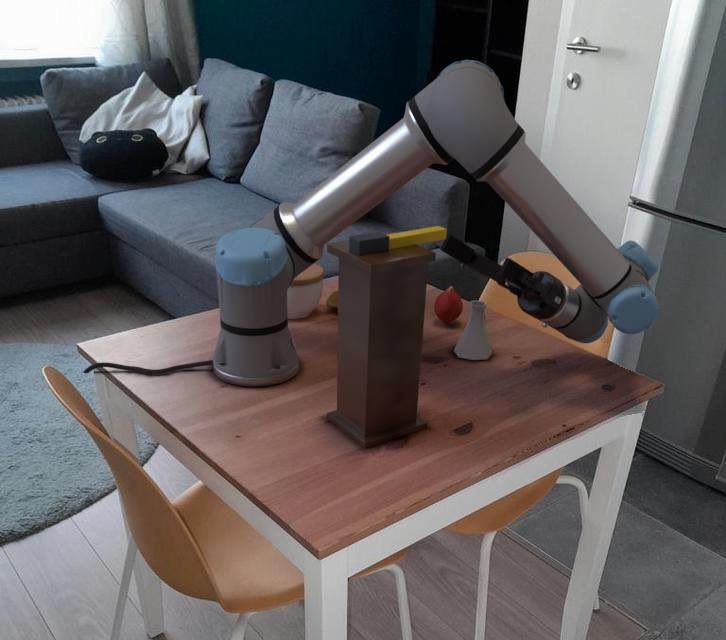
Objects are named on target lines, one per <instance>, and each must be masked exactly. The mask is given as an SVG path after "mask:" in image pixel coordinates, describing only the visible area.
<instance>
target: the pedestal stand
mask: <svg viewBox="0 0 726 640" xmlns="http://www.w3.org/2000/svg"><path fill="white" fill-rule="evenodd" d="M384 234H385V235H387V234H392V233H391V232H387V233H384ZM326 252H327V253H329V254H331V255H333V256H335V257H337V258H338V282H337V285H338V287H337V288H338V289H337V290H338V309H337V358H336V359H337V360H336V361H337V365H336V366H337V367H336V369H337V370H336V373H337V374H336V410H333V411H330V412H327V413H325V414H326V415H325V418H326V420H328V422H330V423H331V424H333V425H334V426H335V427H336V428H338V429H339V430H340V431H342V432H343V433H345V434H346V435H347V436H349V437H350V439H353V440H354V441H355V442H356V443H358V444H359V445H360V446H361V447H363V448H364V449H367V448H370V447H374V446H376V445H379V444H382V443H385V442H388V441H391V440H395V439H398V438H400V437H401V438H402V437H404V436H406V435H411V434H413V433H416V432H418V431H422V430H425V429H428V421H426V420H424V419H423V418H421V417H419V416H418V405H419V391H420V381H421V379H420V378H421V365H422V364H421V363H422V351H423V341H424V340H423V339H424V324H425V310H426V301H427V300H426V299H427V287H428V286H427V285H428V272H429V263H434V262H436V258H437V257H436V256H437V253H436V252H435V251H433V250H430V249H428V248H425V247H423V246H421V245H420V244H417V245H412V246H406V247H400V248H395V249H389V250H388V251H382V252H377V253H371V254H366V255H360V256H359V255H357V254H355V253H353V252H351V251H349V239H347V240H340V241H335V242H327V243H326Z"/></svg>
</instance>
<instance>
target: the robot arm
mask: <svg viewBox="0 0 726 640" xmlns="http://www.w3.org/2000/svg"><path fill="white" fill-rule="evenodd" d="M526 133H527V132H526V131H525V130H524V128H522V126H521V125H520V124H519V122H518V121H517V120H516V119H515V117H514V116H513V113H511V111H510V109H509V108H508V106H507V103H506V101H505V92H504V87H503V85H502V84H501V80H500V79H499V77H498V76H497V75H496V73H495V71H494V70H493V69H492V68H491V67H490V66H488V65H487V64H485V63H482V62H481V61H478V60H472V59H463V60H459V61H455V62H453V63H450V64H449V65H448V66H446V67H445V68H444V69H443V70H442V71H441V72H440V73H439V74H438V76H436V78H435V79H434V80H433V81H431V82H430V83H429V84H428V85H427V86H425V87H424V88H423V89H421V91H419V92H418V93H417V94H416V95H414V96H413V97H412V98H411V99H409V100H408V101H407V102H406V105H405V111H404V115H403V118H401V119H400V120H399V121H398V122H397V123H395V124H393V126H391V127H390V128H389V129H387V130H386V131H385V132H383V133H382V134H381V135H380V136H378V137H377V138H376V139H375V140H374V141H373V142H371V143H370V144H369V145H367V146H366V147H365V148H364V149H362V150H361V151H360V152H359V153H357V154H356V155H355V156H353V157H352V158H351V159H349V161H346V163H345V164H343V165H342V166H340V167H339V169H337V170H336V171H335V172H334V173H332V174H331V175H330V176H328V177H327V178H326V179H324V180H323V181H322V182H321V183H320V184H318V185H317V186H316V187H314V188H313V189H312V190H310V191H309V192H308V193H307V194H306V195H304V196H303V197H302V198H300V200H298V201H297V202H296V203H291V202H286V201H283V202H281V203H280V204H279V205H278V206H276V207H274V208H273V210H271V211H270V212H269V213H267V214H266V215H264V216H262V217H259V218H258V219H256V220H254V222H252V224H251V225H250V226H249V227H243V228H238V229H236V230H235V231H229V232H227V233H226V234H224V235H223V236H222V237H220V238H219V239H218V241H217V243H216V246H215V256H214V267H215V271H216V283H217V284H216V285H217V298H218V310H219V322H220V330H219V334H218V338H217V342H216V346H215V350H214V353H213V357H212V359H211V360H203V361H195V362H189V363H184V364H177V365H172V366H169V367H164V368H159V369H158V368H157V369H151V368H144V367H140V366H134V365H126V364H125V365H124V364H120V363H113V362H104V361H102V362H96V363H93V364H91V365H89V366H88V367H86V368H85V369H84V371H82V373H83V374H89V373H91V372H92V371H94V370H96V369H99V368H109V369H110V368H112V369H117V370H122V371H129V372H138V373H141V374H146V375H162V374H167V373H172V372H176V371H181V370H186V369H191V368H200V367H206V366H212V369H213V373H214V375H215V376H216V377H217V378H219V380H221V381H224V382H225V383H228V384H231V385H236V386H240V387H251V388H252V387H253V388H254V387H255V388H257V387H268V386H274V385H278V384H280V383H284V382H287V381H288V380H290V379H292V378H293V377H295V376H296V375H297V374H298V373H299V369H300V358H299V353H298V351H297V348H296V342H295V340H294V337H293V336H292V335H291V332H290V329H289V321H288V311H287V290H288V288H289V286H290V285H291V283H292V281H293V279H294V278H295V277H297V276H298V275H299V274H300V273H302V272H303V271H304V270H306V269H307V268H308V267H310V266H311V265H312V264H314V263H315V264H316V262H318V261H319V260H321V259H322V258H323V255H324V248H325V245H327V244H328V243H330V241H332V240H333V239H335V238H336V237H337V236H338V235H340V234H341V233H342V232H343V231H345V230H346V229H348V228H349V227H350V226H351V225H353V224H354V223H355V222H357V221H358V220H359V219H361V218H362V217H363V216H364V215H366V214H367V213H368V212H370V211H372V210H373V209H374V208H375V207H376V206H378V205H379V204H381V203H382V202H384V201H385V200H386V199H387V198H389V197H390V196H391V195H393V194H394V193H396V192H397V191H398V190H399V189H401V188H402V187H404V185H406V184H407V183H409V182H411V180H413V179H414V178H416V177H417V176H418V175H420V174H421V173H422V172H423V171H424V170H426V169H427V168H429V167H430V166H431V165H433V164H439V165H448V164H449V163H451V162H452V161H454V160H456V161H457V162H458V163H459V164H460V166H462V167H463V168H464V170H465V171H467V173H469V174H470V175H471V176H472V178H473V179H474V180H475V181H476V182H485V183H488V184H489V186H491V188H492V189H493V190H494V191H495V192H496V193H497V194H498V196H500V198H501V199H502V200H503V201H504V202H505V203H506V204H507V205H508V206H509V207H510V209H511V210H512V211H513V212H514V213H515V214H516V215H517V217H519V218H520V219H521V221H522V222H523V223H524V224H525V225H526V226H527V227H528V228H529V229H530V230H531V232H532V233H533V234H534V235H535V236H536V237H537V238H538V239H539V240H540V241H541V242H542V244H543V245H545V247H546V248H547V249H548V250H549V251H550V253H552V254H553V256H554V257H555V258H556V259H557V260H558V261H559V262H560V263H561V264H562V265H563V267H565V269H566V270H567V271H568V272H569V273H570V274H571V275H572V276H573V277H574V278H575V280H577V282H578V283H579V285H578V286H577V287H576V288H575V289H574V288H573V287H572V286H570V285H569V284H567V283H566V282H565V281H563V280H561V279H559V278H557V277H556V276H555V275H554V274H552V273H550V272H549V271H545V270H539V271H535V272H532V271H531V270H529V269H527V268H526V267H524V266H523V265H521V264H520V263H518V262H516V261H515V260H513V259H511V258H510V257H506V258H505V259H504V261H503V263H502V264H500V263H498V262H496V261H494V260H493V259H490V258H488V257H486V256H484V255H482V254H481V253H479V252H476V249H474V248H472V247H470V246H469V245H468V244H466V243H464V242H463V241H461V240H460V239H458V238H456V237H455V236H453V235H452V234H449V233H447V234H446V239H445V240H443V242H442V244H441V246H440V248H439V251H441V252H443V253H444V254H446V255H448V256H449V257H451V258H453V259H455V260H456V261H457V263H458V264H459V267H460V268H462V269H464V268H465V266H466V267H468V268H470V269H472V270H474V271H476V272H478V273H479V274H481V275H483V276H485V277H486V278H489V279H491V280H492V281H494V282H496V283H497V285H498V286H500V287H502V288H504V289H506V290H508V291H509V292H510V293H511V294H512V295H514V296H516V297H517V299H516V300H517V304H518V307H519V309H520V310H521V311H522V312H523V313H525V314H527V315H528V316H531V317H532V318H534V319H536V320H538V321H540V322H542V324H541V327H542V328H544V329H546V328H548V327H550V328H551V329H554V330H555V331H557V332H559V333H560V334H562V335H563V336H564V337H565V338H567V339H569V340H573V341H575V342H577V343H580V344H590V343H594V342H596V341H598V340H599V339H601V338H602V336H603V335H604V334H605V332H606V330H607V328H608V326H609V322H610V324H612V326H613V327H614V328H615V330H617V331H619V332H620V333H622V334H627V335H634V334H639V333H640V334H641V333H642V332H644V331H646V330H648V329H650V327H651V326H652V325H654V323H655V321H656V320H657V317H658V313H659V302H658V298H657V294H656V292H654V290H653V288H652V287H651V285H650V283H649V282H650V280H651V278H652V277H653V276H654V275H655V274H656V273H657V272H658V269H659V268H658V265H657V263H656V262H655V260H654V259H653V258H652V257H651V256H650V254H649V253H648V252H647V251H646V250H645V249H644V248H643V247H642V246H641V245H640V244H639V243H638V242H636V241H635V240H626V242H624V243H623V244H622V245H620V246H619V247H618V248H617V247H616V246H615V245H614V244H613V242H612V241H611V240H610V239H609V238H608V237H607V236H606V234H605V233H604V232H603V231H602V230H601V229H600V228H599V226H598V225H597V224H596V223H595V222H594V220H593V219H592V218H591V217H590V216H589V214H588V213H587V212H585V210H584V209H583V208H582V207H581V205H580V204H579V203H578V202H577V201H576V199H574V197H572V195H571V194H570V193H569V192H568V191H567V190H566V188H565V187H564V186H563V185H562V183H560V181H559V180H558V179H557V178H556V177H555V176H554V174H553V173H551V171H550V170H549V168H547V166H546V165H545V164H544V163H543V162H542V161H541V159H539V157H538V156H537V155H536V154H535V153H534V152H533V150H532V149H531V148H530V147H529V146H528V144H527V143H526V136H527V135H526Z"/></svg>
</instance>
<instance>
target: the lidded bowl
mask: <svg viewBox="0 0 726 640" xmlns="http://www.w3.org/2000/svg"><path fill="white" fill-rule="evenodd" d="M324 276H325V270H324V268H323V267H322V266H321V265H319V264H317V263H316V262H315V263H314V264H312V265H311V266H310V267H308V268H307V269H306V270H304V271H303V272H302V273H300V274H299V275H298V276H297V277H295V278H294V279H293V281H292V283H291V285H290V286H289V288H288V290H287V311H288V319H289V320H298V319H299V320H300V319H304V318H307V317H309V316H310V315H311V314H312V312H313V311H314V310H315V309H316V308H317V307H318V305H319V304H320V301H321V299H322V296H323V290H324V289H323V288H324V278H325V277H324Z"/></svg>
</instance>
